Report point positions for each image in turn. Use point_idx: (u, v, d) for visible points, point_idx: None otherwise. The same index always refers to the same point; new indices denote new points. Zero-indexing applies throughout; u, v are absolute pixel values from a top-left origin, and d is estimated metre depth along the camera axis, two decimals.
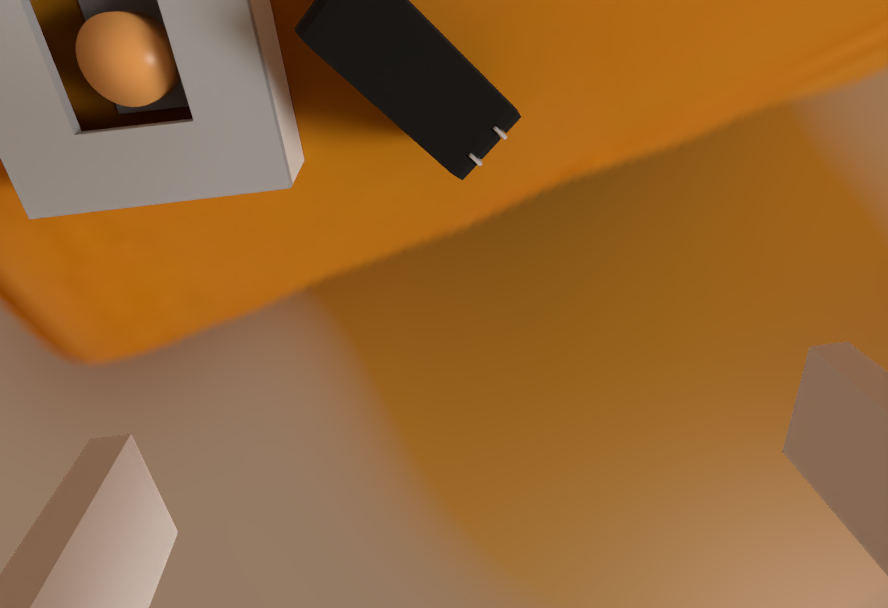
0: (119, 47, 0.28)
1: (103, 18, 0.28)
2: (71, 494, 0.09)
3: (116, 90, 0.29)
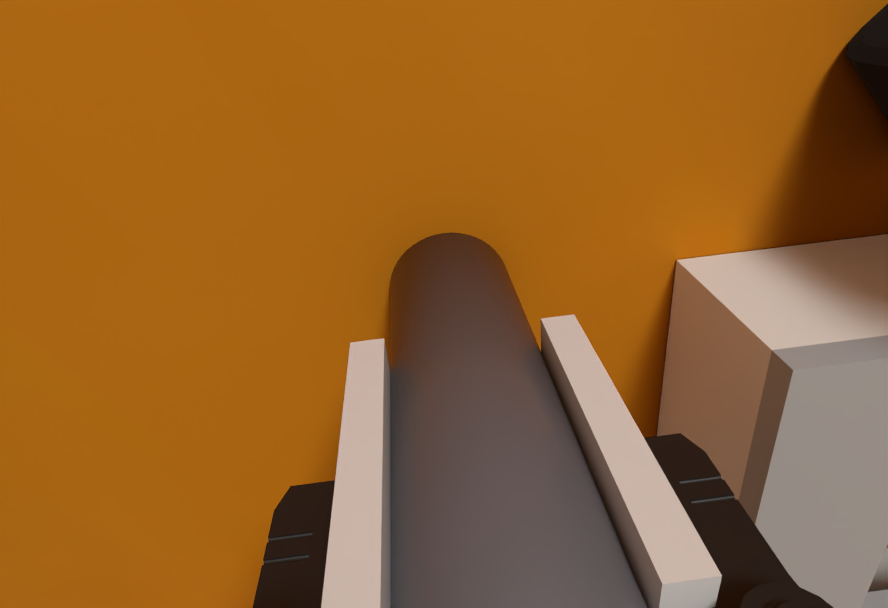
0: None
1: None
2: (362, 377, 0.11)
3: None
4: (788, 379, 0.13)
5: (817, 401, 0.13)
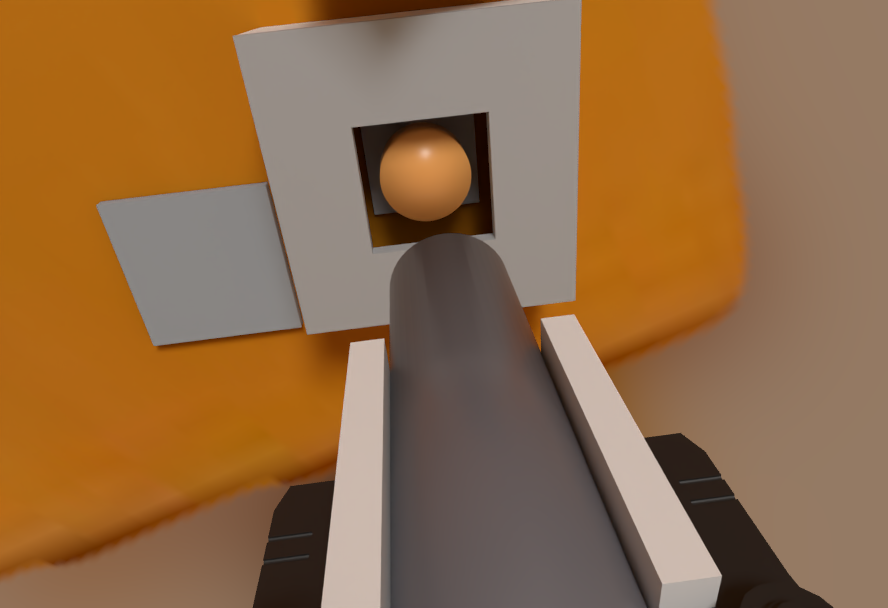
0: (412, 178, 0.27)
1: (386, 187, 0.28)
2: (362, 377, 0.11)
3: (454, 191, 0.28)
4: (236, 45, 0.23)
5: (258, 61, 0.23)
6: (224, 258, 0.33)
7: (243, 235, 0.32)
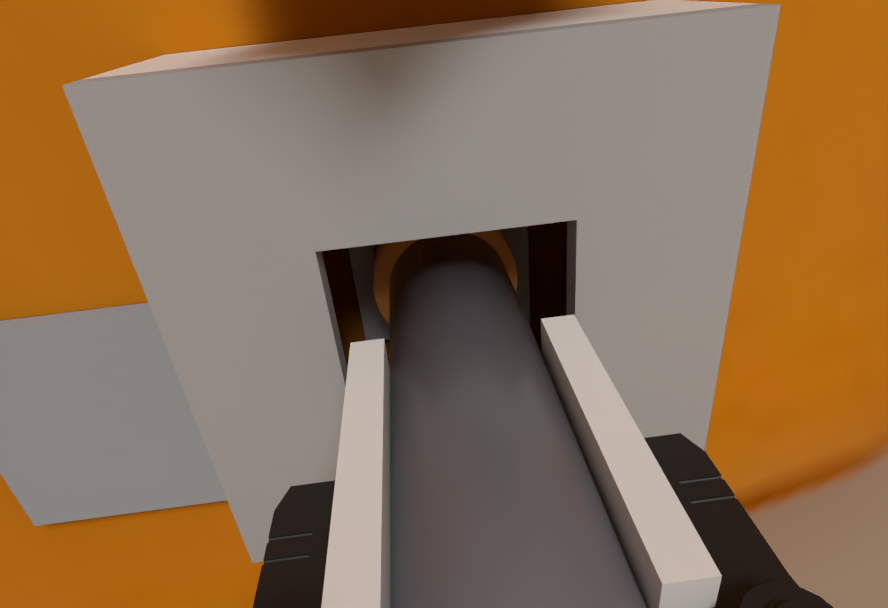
0: None
1: (383, 300, 0.17)
2: (362, 377, 0.11)
3: None
4: None
5: (121, 133, 0.11)
6: (131, 409, 0.21)
7: (158, 377, 0.20)
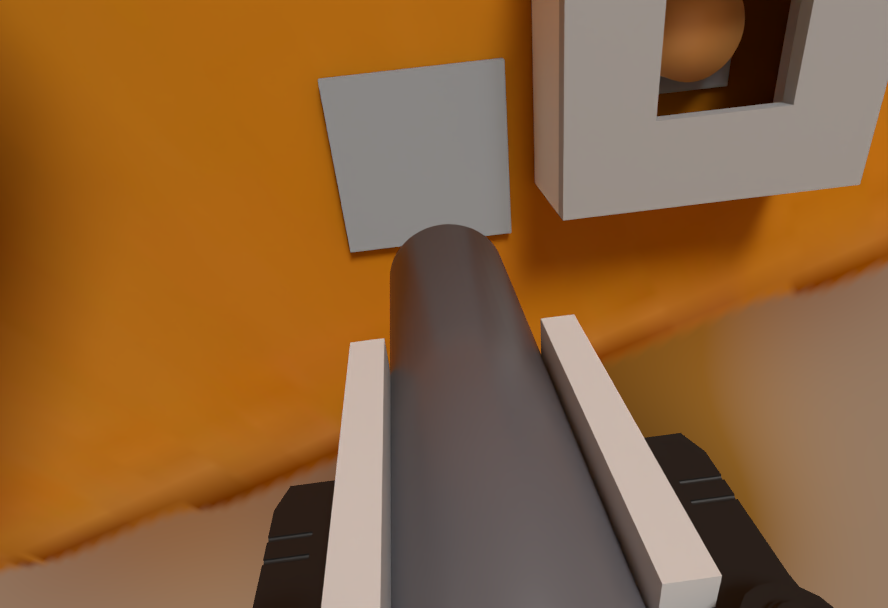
0: (683, 31, 0.26)
1: None
2: (362, 377, 0.11)
3: (722, 47, 0.26)
4: None
5: None
6: (444, 148, 0.29)
7: (469, 120, 0.29)
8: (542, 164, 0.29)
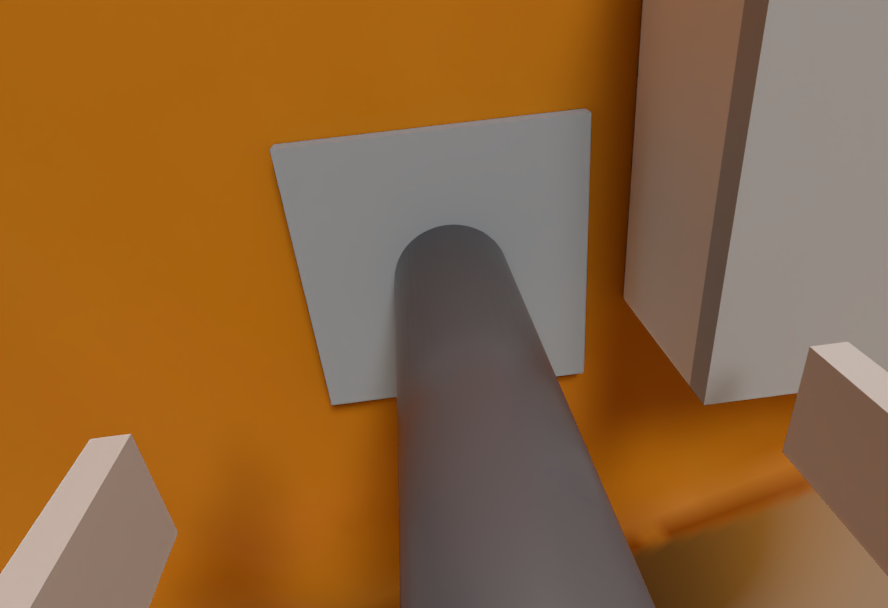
0: None
1: None
2: (72, 494, 0.09)
3: None
4: None
5: None
6: None
7: (527, 210, 0.17)
8: (648, 283, 0.17)
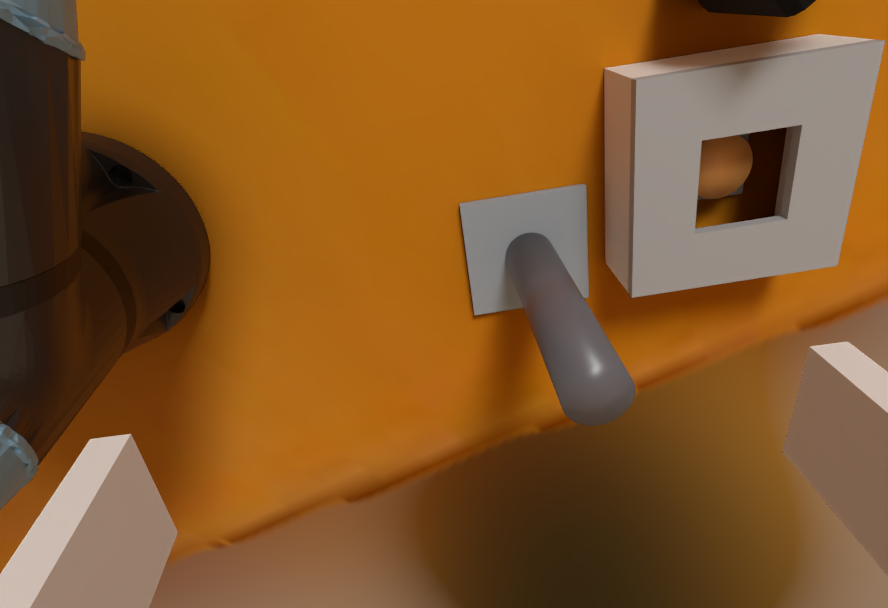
0: (710, 168, 0.38)
1: None
2: (71, 494, 0.09)
3: (738, 176, 0.39)
4: (636, 86, 0.32)
5: (649, 96, 0.33)
6: None
7: (561, 225, 0.42)
8: (613, 254, 0.42)
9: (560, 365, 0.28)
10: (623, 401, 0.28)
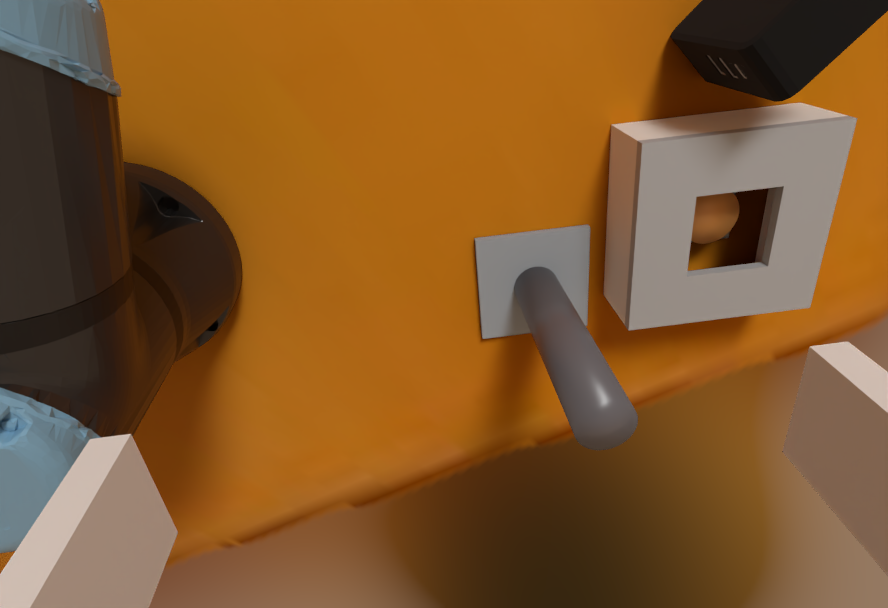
0: (702, 216, 0.43)
1: None
2: (71, 494, 0.09)
3: (725, 224, 0.43)
4: (641, 148, 0.37)
5: (652, 157, 0.37)
6: None
7: (566, 261, 0.46)
8: (611, 288, 0.46)
9: (573, 397, 0.32)
10: (627, 430, 0.32)
